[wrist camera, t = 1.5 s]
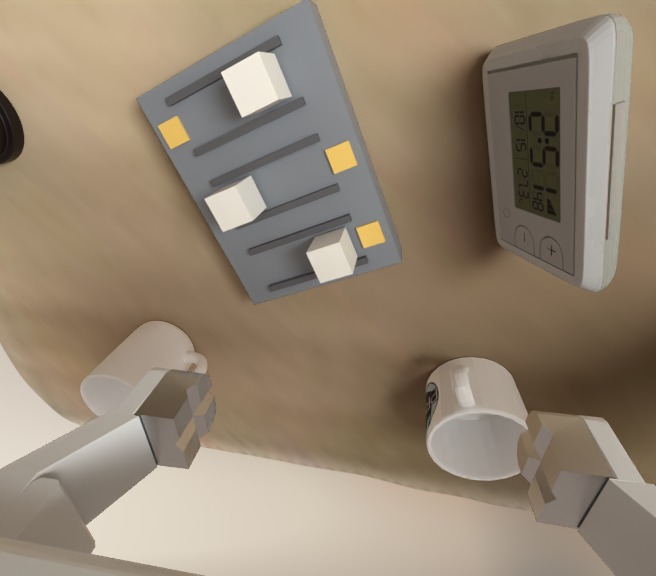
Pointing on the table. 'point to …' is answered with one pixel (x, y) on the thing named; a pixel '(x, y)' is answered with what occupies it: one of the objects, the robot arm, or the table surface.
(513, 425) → the mug
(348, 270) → the slider
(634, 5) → the table surface
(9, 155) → the light fixture
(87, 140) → the table surface
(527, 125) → the digital clock
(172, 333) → the mug
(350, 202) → the switch unit
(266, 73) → the slider
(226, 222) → the slider
